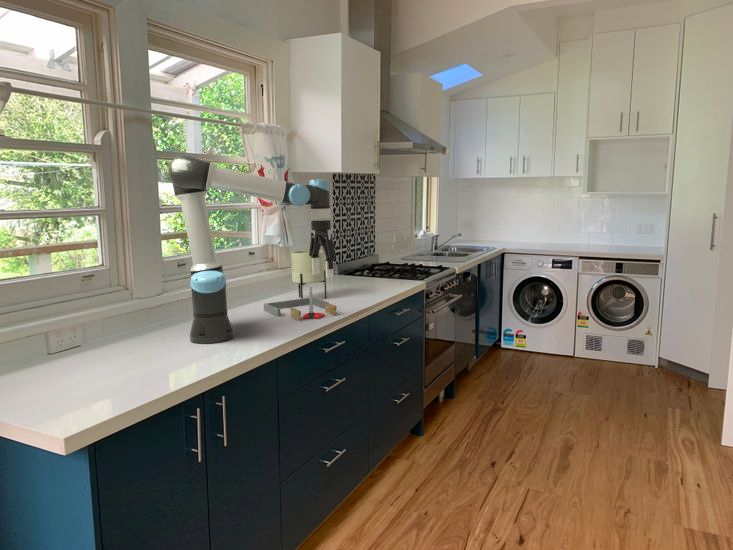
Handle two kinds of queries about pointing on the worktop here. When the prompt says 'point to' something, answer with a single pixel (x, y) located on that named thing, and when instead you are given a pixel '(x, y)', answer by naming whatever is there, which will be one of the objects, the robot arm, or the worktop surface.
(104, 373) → the worktop surface
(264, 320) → the worktop surface
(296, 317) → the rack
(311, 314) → the tow hook
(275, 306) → the grey piece
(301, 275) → the planter
